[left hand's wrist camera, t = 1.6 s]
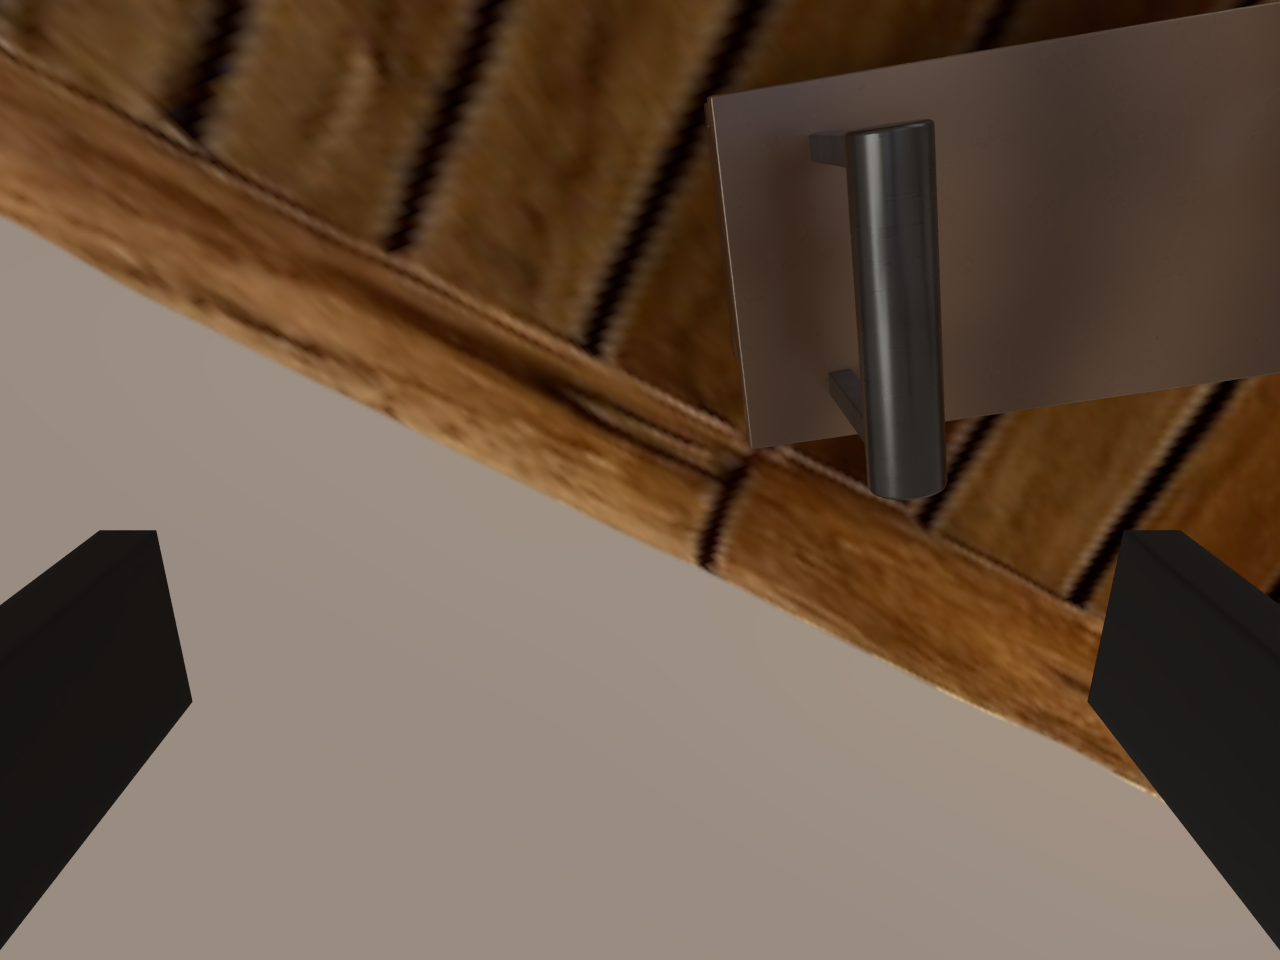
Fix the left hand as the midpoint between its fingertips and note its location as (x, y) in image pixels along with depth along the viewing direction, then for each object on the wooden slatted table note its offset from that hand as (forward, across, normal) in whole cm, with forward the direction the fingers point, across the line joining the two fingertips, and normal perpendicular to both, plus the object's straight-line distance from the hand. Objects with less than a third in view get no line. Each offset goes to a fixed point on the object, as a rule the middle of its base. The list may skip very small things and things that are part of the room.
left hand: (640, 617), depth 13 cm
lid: (+16, +11, +3) cm, 19 cm away
